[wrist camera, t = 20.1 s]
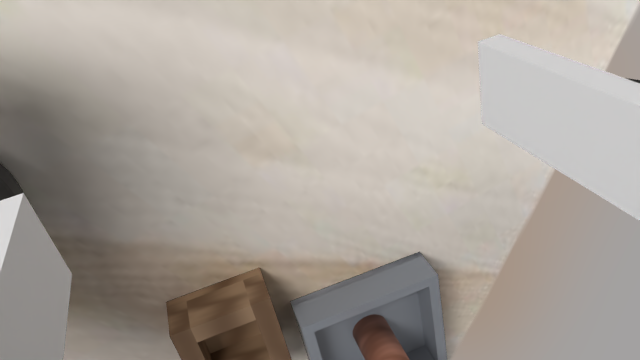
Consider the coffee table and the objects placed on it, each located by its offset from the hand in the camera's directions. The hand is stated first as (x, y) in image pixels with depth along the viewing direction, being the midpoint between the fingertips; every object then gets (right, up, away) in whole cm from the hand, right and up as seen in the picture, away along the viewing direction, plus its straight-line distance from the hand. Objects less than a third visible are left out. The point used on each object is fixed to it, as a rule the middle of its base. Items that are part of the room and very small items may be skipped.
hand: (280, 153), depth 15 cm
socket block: (-9, -16, +43) cm, 46 cm away
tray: (+7, -18, +50) cm, 54 cm away
